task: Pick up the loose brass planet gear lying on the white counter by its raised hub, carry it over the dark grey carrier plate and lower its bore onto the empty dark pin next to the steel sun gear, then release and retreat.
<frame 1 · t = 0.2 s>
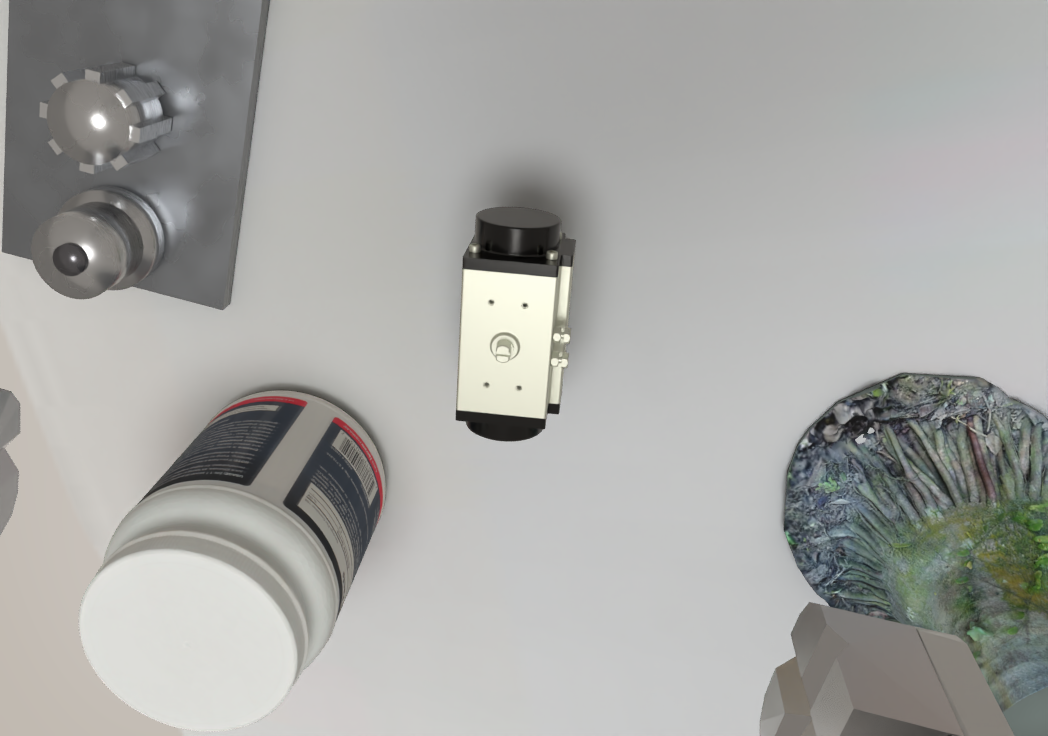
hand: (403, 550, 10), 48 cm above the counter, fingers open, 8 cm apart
carrier: (135, 109, 57), on the counter
pneumatic valve: (531, 280, 59), on the counter
tree stump: (935, 511, 62), on the counter
supplement tub: (298, 467, 65), on the counter
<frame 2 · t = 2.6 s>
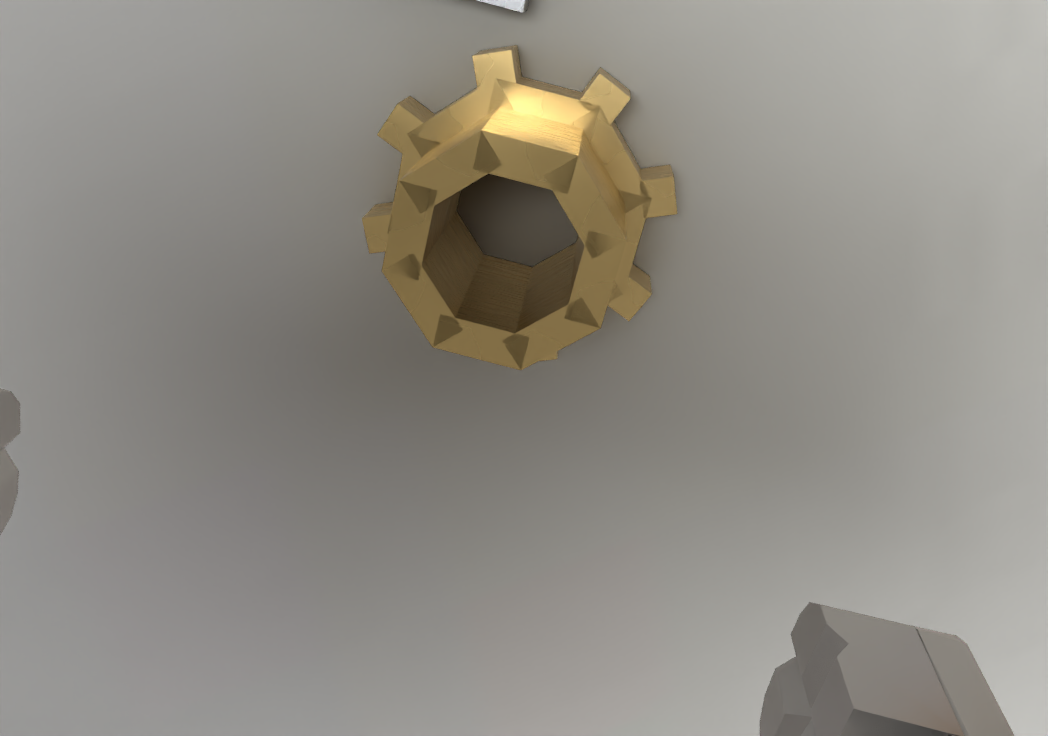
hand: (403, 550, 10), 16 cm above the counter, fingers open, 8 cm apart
planet gear: (522, 202, 25), on the counter
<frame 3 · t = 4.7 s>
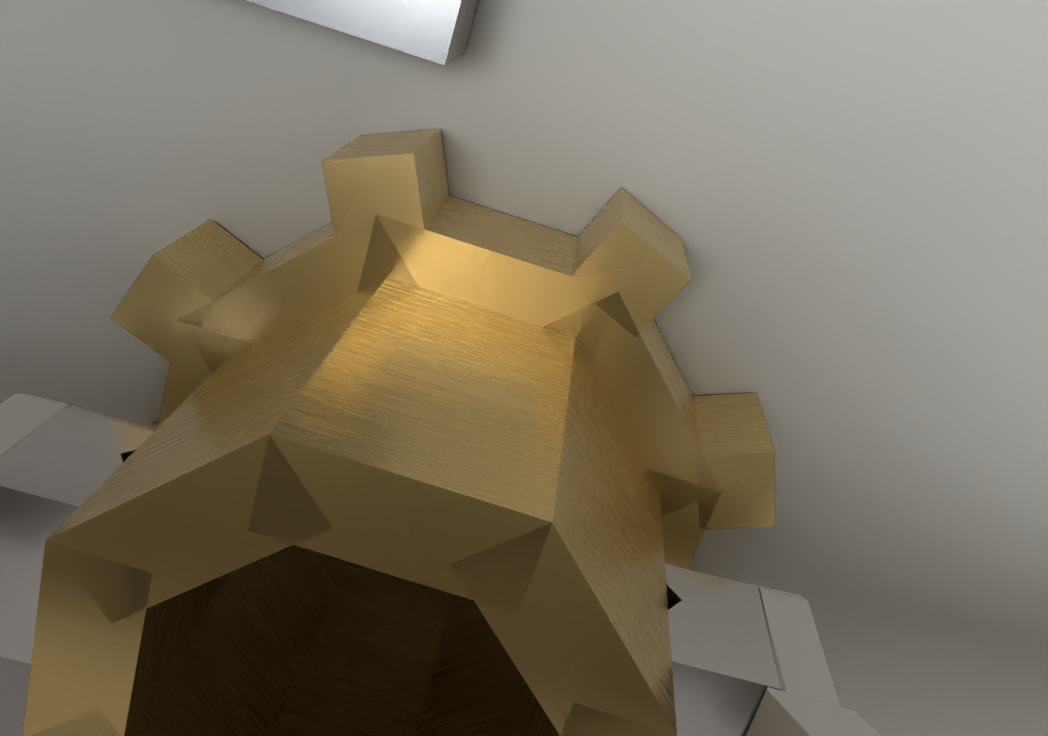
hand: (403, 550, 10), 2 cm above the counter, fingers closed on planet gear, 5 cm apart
planet gear: (444, 441, 12), on the counter, touching gripper
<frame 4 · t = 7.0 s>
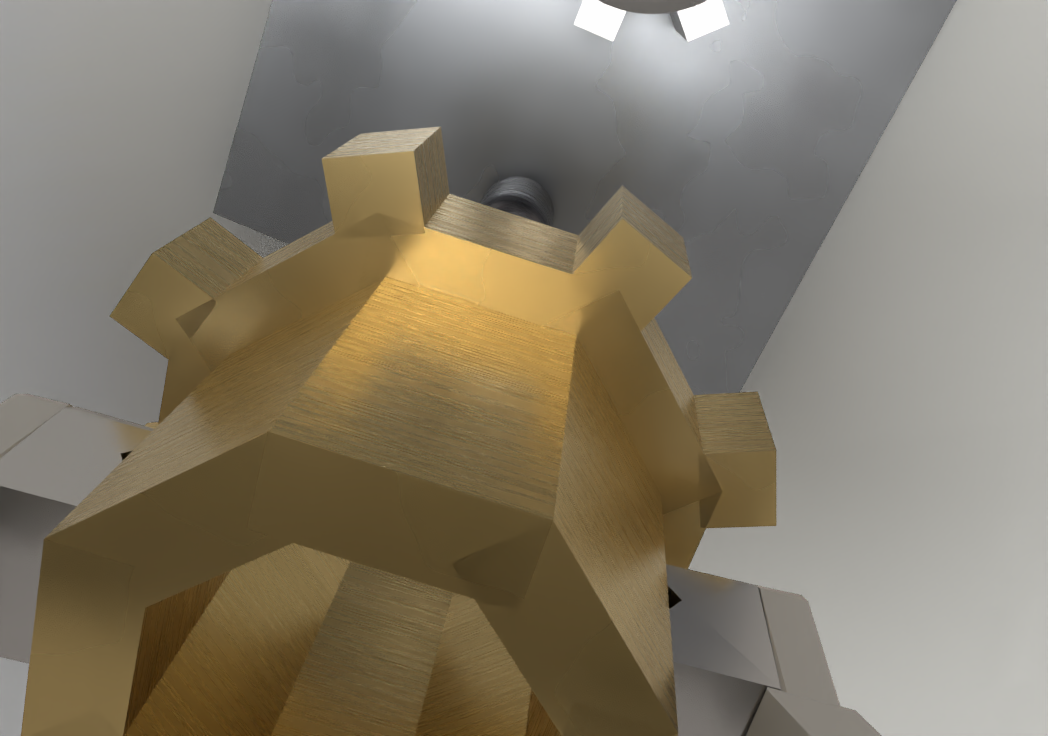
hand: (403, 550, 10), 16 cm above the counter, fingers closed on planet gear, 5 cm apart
planet gear: (445, 440, 12), point 14 cm above the counter, touching gripper
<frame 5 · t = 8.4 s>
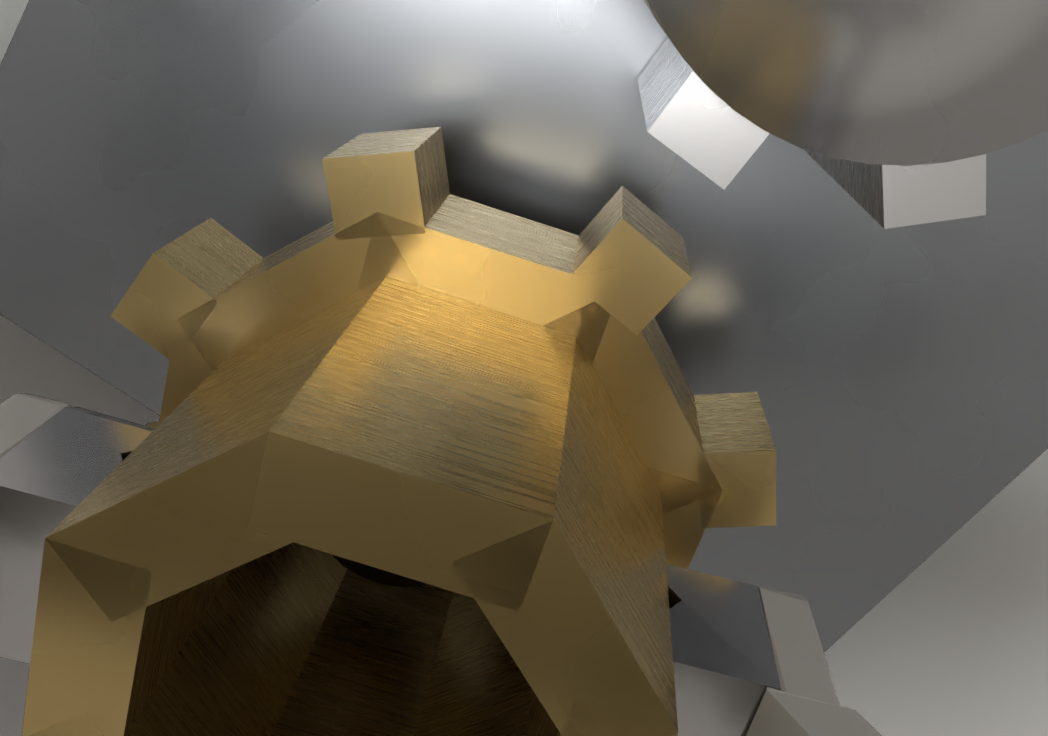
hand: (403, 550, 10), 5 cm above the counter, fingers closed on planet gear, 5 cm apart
planet gear: (445, 440, 12), point 3 cm above the counter, touching gripper
when the fingers open (5 cm above the counter, at t = 9.5 s): planet gear drops 1 cm, resting on carrier.
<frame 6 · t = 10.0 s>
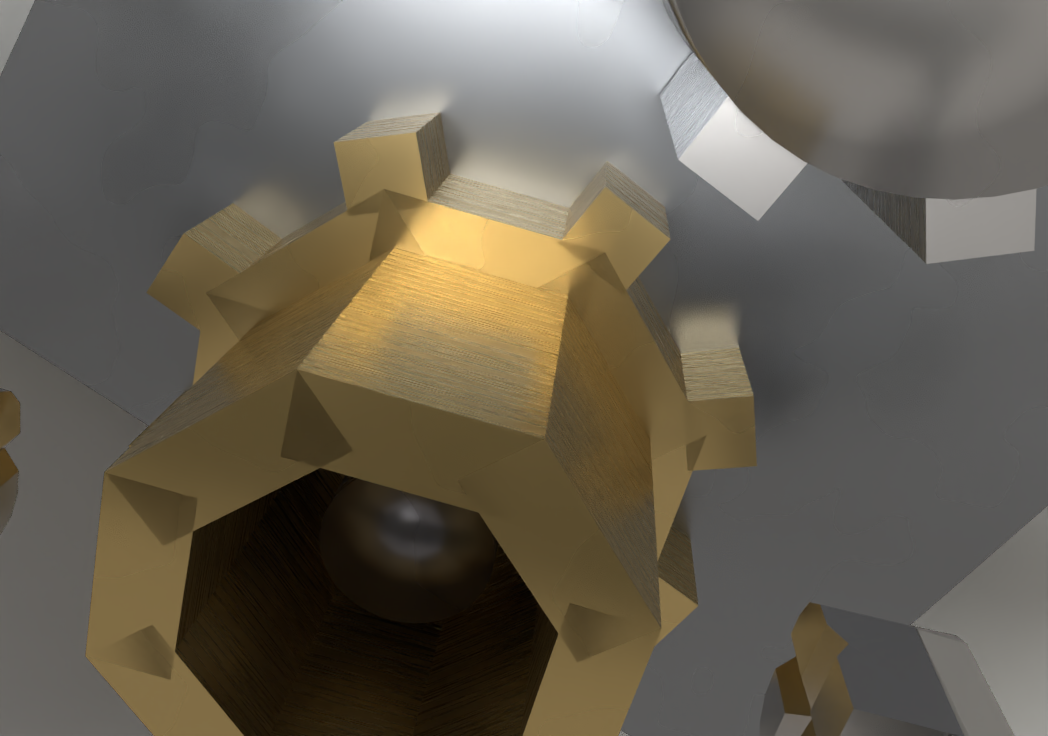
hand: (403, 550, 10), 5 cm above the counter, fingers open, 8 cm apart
planet gear: (453, 403, 13), point 1 cm above the counter, touching carrier
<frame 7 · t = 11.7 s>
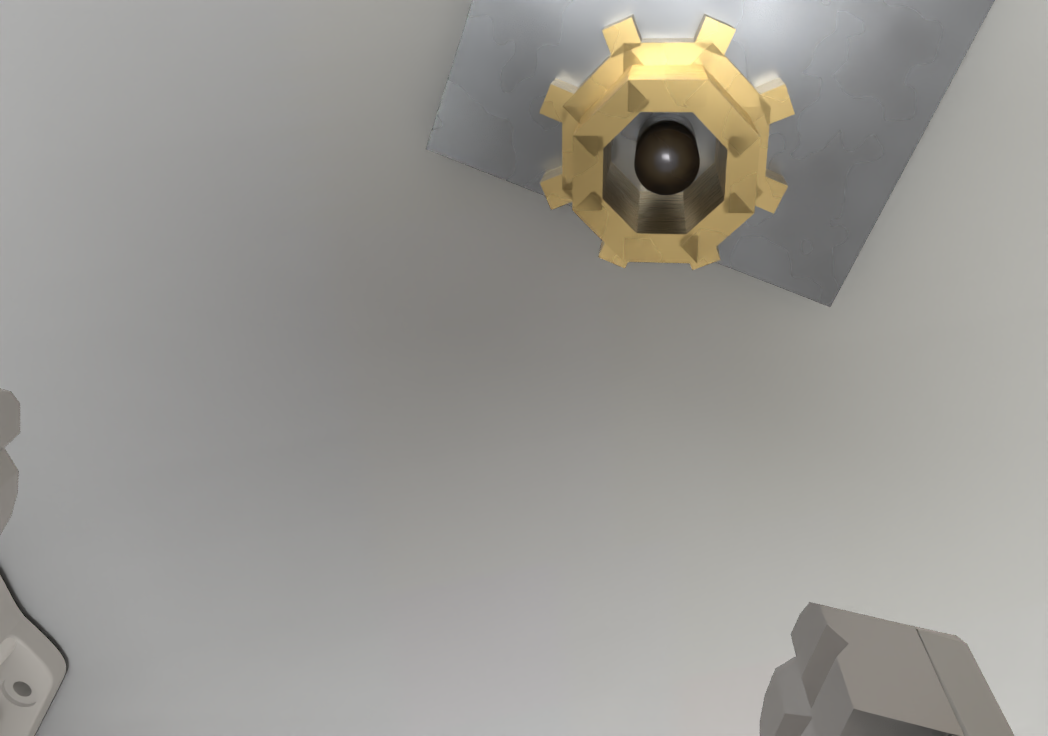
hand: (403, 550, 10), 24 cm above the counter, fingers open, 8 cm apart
planet gear: (663, 140, 30), point 1 cm above the counter, touching carrier
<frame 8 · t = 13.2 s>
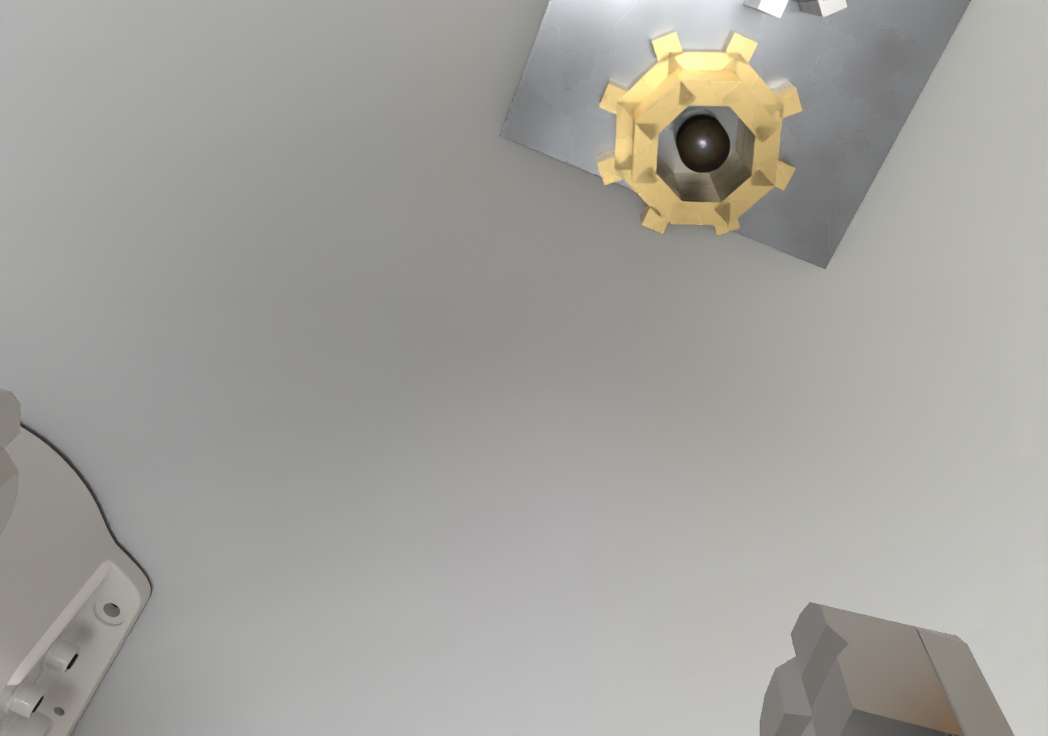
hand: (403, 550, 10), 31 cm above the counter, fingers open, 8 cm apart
planet gear: (694, 131, 37), point 1 cm above the counter, touching carrier
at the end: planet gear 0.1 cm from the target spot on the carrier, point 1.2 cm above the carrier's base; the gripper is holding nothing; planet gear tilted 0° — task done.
